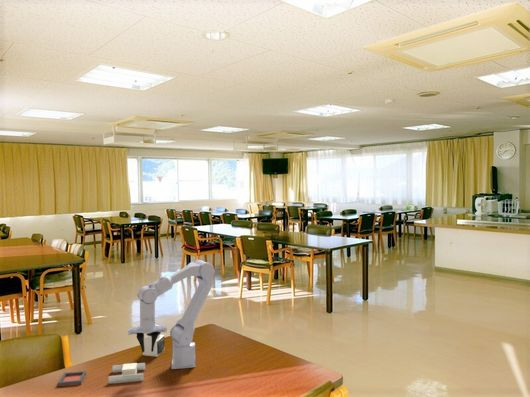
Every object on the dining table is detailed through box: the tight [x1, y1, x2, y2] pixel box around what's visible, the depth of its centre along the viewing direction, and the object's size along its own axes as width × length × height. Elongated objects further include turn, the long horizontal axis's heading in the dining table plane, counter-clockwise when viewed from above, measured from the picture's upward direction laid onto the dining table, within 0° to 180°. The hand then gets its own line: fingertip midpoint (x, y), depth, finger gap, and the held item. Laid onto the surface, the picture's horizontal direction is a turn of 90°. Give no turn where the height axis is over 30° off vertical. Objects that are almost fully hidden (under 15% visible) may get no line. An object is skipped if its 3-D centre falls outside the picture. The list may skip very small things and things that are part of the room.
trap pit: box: [57, 370, 87, 387], centre depth 157 cm, size 8×8×1 cm
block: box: [121, 362, 138, 375], centre depth 161 cm, size 5×5×4 cm
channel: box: [108, 362, 146, 385], centre depth 161 cm, size 12×10×2 cm
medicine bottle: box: [142, 324, 166, 358], centre depth 182 cm, size 7×7×12 cm
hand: (147, 350), depth 162 cm, fingers open, 3 cm apart
